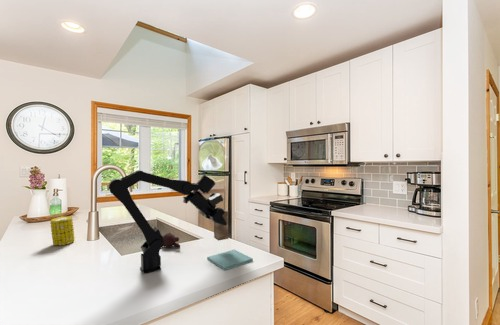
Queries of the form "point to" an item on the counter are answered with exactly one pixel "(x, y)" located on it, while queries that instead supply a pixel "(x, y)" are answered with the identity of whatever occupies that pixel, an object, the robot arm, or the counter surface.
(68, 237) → the food
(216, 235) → the walnut pillar
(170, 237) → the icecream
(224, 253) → the teal board
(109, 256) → the counter surface
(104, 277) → the counter surface
